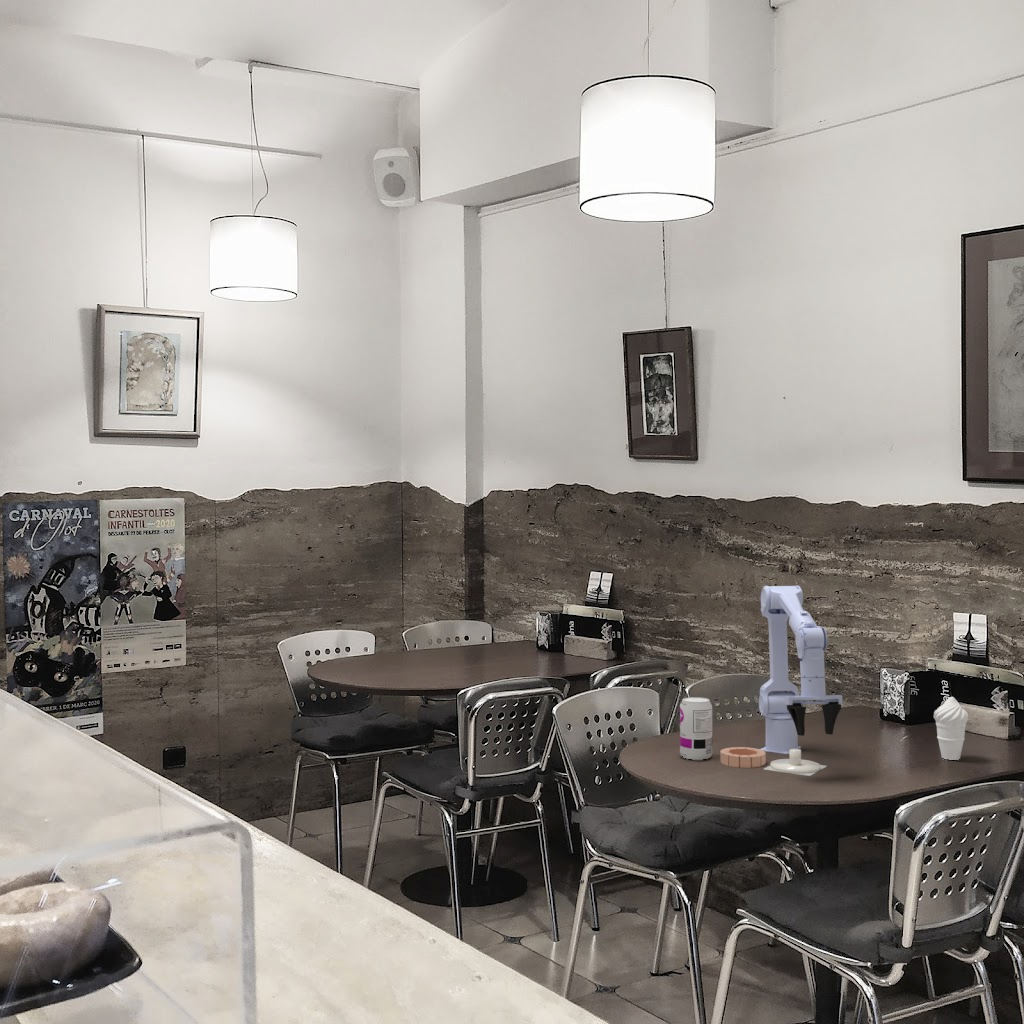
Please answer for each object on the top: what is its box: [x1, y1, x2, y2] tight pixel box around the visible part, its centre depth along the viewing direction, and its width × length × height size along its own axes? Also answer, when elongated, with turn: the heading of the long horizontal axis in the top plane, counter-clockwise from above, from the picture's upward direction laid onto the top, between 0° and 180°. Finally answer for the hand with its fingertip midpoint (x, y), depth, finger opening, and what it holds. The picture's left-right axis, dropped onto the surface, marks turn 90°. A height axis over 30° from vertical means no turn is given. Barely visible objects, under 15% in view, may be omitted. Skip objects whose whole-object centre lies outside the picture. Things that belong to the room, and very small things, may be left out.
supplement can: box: [679, 696, 713, 761], centre depth 300 cm, size 8×8×15 cm
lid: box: [769, 748, 821, 774], centre depth 287 cm, size 12×12×4 cm
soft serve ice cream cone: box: [933, 696, 969, 761], centre depth 296 cm, size 8×8×16 cm
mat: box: [763, 764, 828, 777], centre depth 287 cm, size 12×12×1 cm
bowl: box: [719, 746, 767, 769], centre depth 293 cm, size 11×11×3 cm
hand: (815, 734), depth 278 cm, fingers open, 7 cm apart
